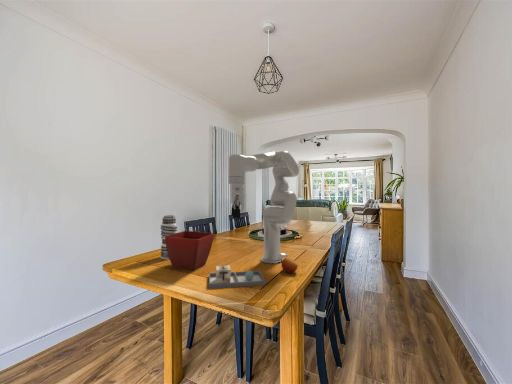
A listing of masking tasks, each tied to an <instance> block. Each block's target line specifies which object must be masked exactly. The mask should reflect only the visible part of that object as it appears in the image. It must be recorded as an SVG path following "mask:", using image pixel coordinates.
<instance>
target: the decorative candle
mask: <svg viewBox="0 0 512 384" xmlns="http://www.w3.org/2000/svg"><path fill="white" fill-rule="evenodd" d="M177 229H178V227H177V217H176V216H175V215H174V214H173V215H172V214H171V215H170V214H169V215H166V214H165V215H164V216H163V217H162V223H161V225H160V230H161V231H160V236H161V245H160V248H161V249H160V250H161V251H160V256H161V257H160V259H161V260H170V259H169V255H168V252H167V247H166V242H165V236H168V235H171V234H175V233H176V232H178V230H177Z"/></svg>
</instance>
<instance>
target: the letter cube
mask: <svg viewBox="0 0 512 384" xmlns="http://www.w3.org/2000/svg"><path fill="white" fill-rule="evenodd" d="M215 268H216V269H215V273H216V283H230V277H231V272H232V271H231V265H229V264H228V265H216V266H215Z"/></svg>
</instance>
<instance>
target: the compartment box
mask: <svg viewBox="0 0 512 384" xmlns="http://www.w3.org/2000/svg"><path fill="white" fill-rule="evenodd" d="M247 271H248V270H247ZM247 271H231V277H230V283H216V272H209V273H208V289H219V288H220V289H221V288H222V289H223V288H237V287H238V288H240V287H255V286H266V285H267V282H266V279H265V277H264V276H263V274H262V272H261V271H260V270H253V271H252V270H251V271H252V272H253V274H254V277H253V279H252V280H247V279H246V278H245V273H246V272H247Z"/></svg>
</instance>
